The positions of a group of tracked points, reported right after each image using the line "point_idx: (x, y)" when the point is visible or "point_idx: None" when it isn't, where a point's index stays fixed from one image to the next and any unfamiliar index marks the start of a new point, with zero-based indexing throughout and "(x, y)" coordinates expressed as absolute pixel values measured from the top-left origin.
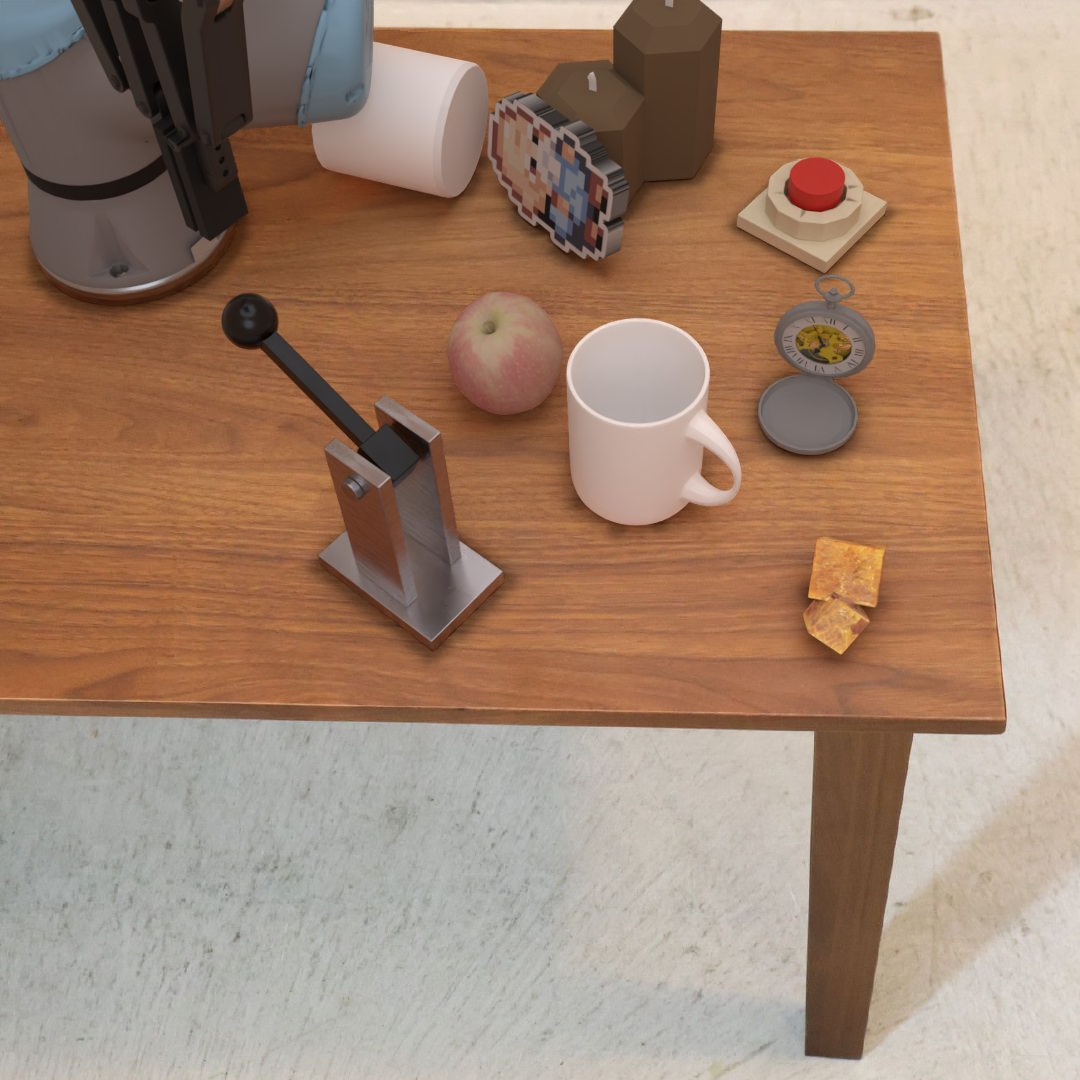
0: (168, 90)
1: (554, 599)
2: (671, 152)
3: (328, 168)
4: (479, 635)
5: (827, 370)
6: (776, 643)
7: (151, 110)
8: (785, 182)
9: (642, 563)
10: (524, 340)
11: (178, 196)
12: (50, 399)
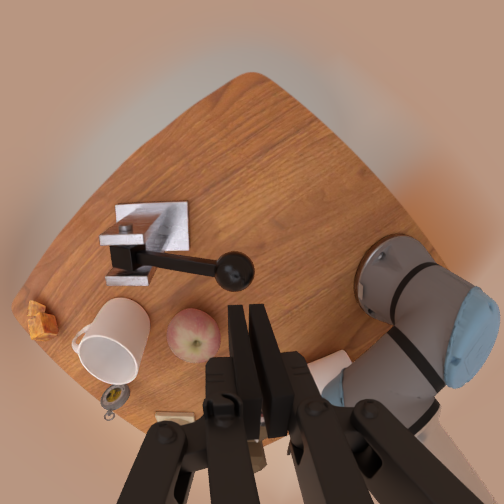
0: (234, 481)
1: (103, 256)
2: None
3: (341, 350)
4: (110, 222)
5: (114, 386)
6: (47, 292)
7: (298, 414)
8: None
9: (94, 290)
10: (175, 347)
11: (266, 326)
12: (363, 187)
